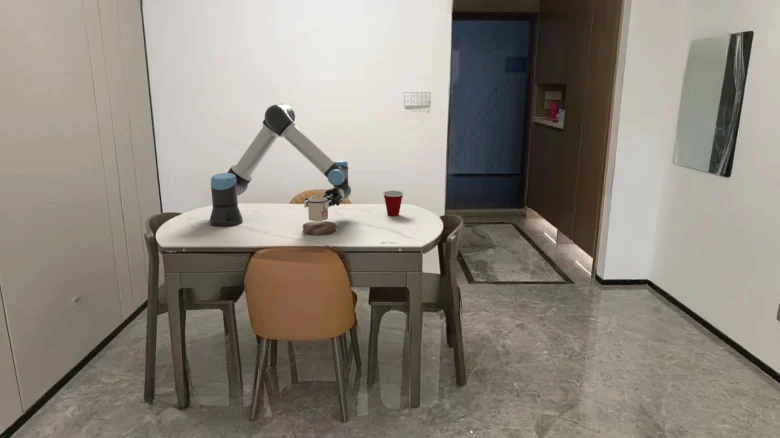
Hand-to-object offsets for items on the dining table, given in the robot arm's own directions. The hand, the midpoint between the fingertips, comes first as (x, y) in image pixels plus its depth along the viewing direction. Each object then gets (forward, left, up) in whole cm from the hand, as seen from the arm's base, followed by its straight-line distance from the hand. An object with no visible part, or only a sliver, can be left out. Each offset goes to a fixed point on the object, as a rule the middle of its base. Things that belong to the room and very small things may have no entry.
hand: (315, 205), depth 239 cm
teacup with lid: (0, +5, -7) cm, 9 cm away
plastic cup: (+23, +46, -13) cm, 53 cm away
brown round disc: (0, +5, -13) cm, 14 cm away
